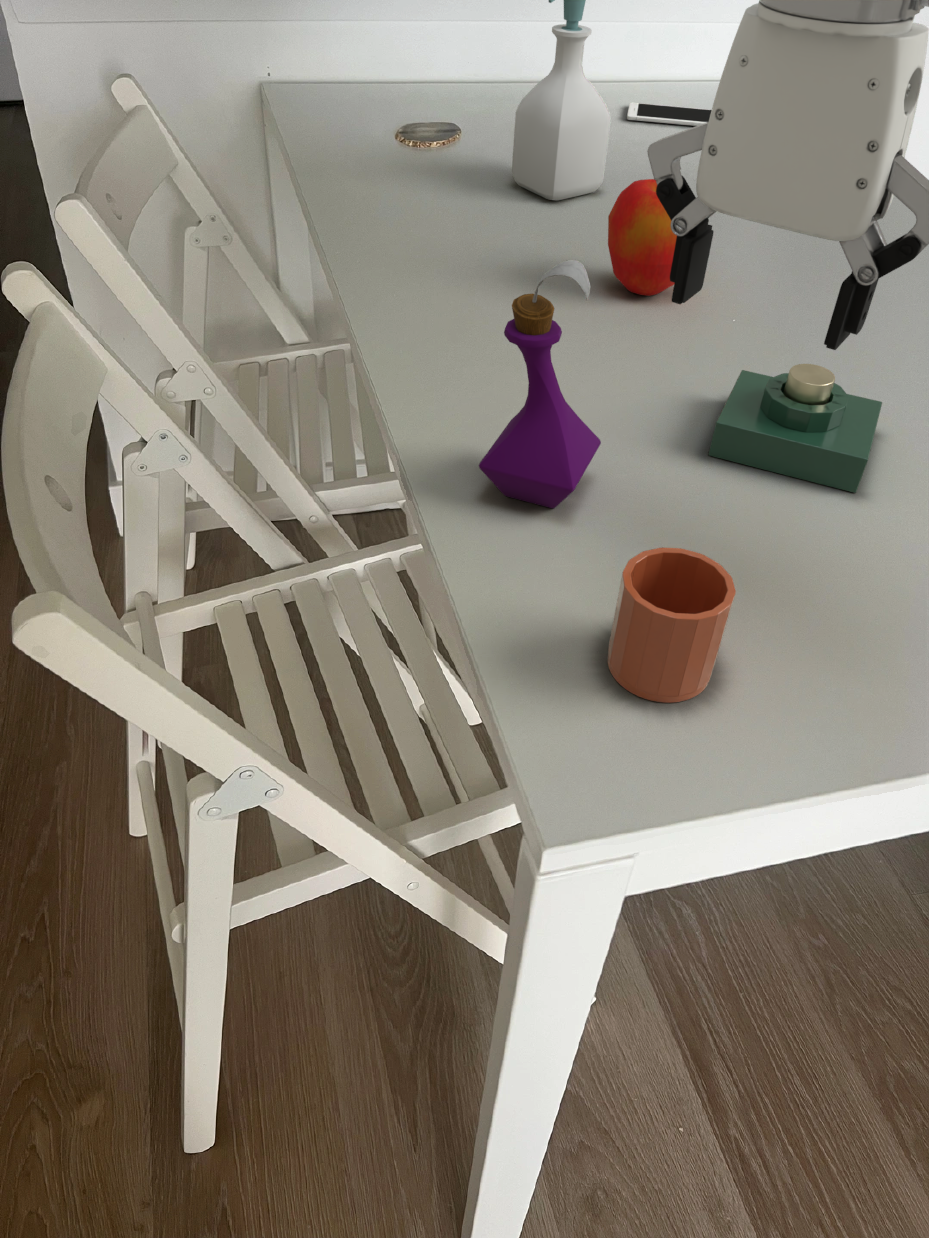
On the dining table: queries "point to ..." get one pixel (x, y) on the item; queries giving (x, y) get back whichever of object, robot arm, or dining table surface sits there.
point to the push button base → (796, 432)
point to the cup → (669, 623)
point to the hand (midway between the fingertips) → (759, 318)
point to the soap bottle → (562, 122)
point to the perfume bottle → (541, 411)
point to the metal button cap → (809, 384)
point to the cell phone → (668, 114)
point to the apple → (641, 239)
